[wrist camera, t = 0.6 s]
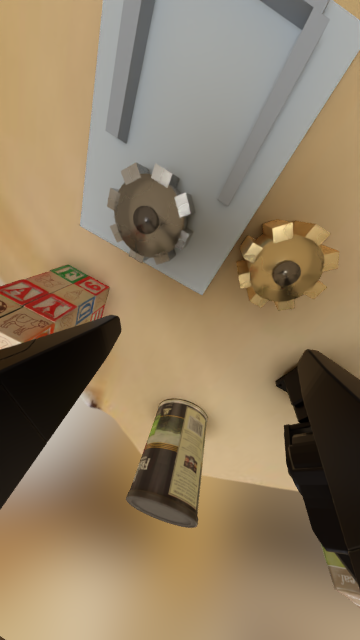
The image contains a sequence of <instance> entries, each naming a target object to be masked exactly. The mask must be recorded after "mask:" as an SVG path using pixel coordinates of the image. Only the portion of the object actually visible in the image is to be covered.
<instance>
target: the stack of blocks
mask: <svg viewBox="0 0 360 640" xmlns="http://www.w3.org/2000/svg"><path fill="white" fill-rule="evenodd" d="M108 292H109V287H108V286H106V285H104V284H103V283H101V282H99V281H97V280H95V279H94V278H92V277H90V276H88V275H86V274H84V273H82V272H80V271H79V270H77V269H75V268H73V267H72V266H70V265H66V266H62V267H59V268H56V269H53V270H50V271H49V272H45V273H42V274H39V275H36V276H33V277H30V278H27V279H22V280H19V281H15V282H12V283H10V284H6V285H3V286H0V349H3V348H7V347H10V346H14V345H17V344H20V343H24V342H27V341H30V340H33V339H37V338H40V337H43V336H46V335H49V334H52V333H55V332H59V331H62V330H65V329H68V328H71V327H74V326H77V325H81V324H84V323H87V322H90V321H93V320H96V319H100V318H102V314H103V310H104V306H105V303H106V299H107V296H108Z"/></svg>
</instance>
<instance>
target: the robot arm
mask: <svg viewBox="0 0 360 640" xmlns="http://www.w3.org/2000/svg"><path fill="white" fill-rule="evenodd" d="M120 333H121V324H120V319H119V317H118V316H115V315H109V316H106V317H103V318H100V319H96V320H93V321H90V322H87V323H84V324H81V325H77V326H74V327H71V328H68V329H65V330H62V331H59V332H55V333H52V334H49V335H46V336H43V337H40V338H37V339H33V340H30V341H27V342H24V343H20V344H17V345H14V346H10V347H7V348H3V349H0V509H1V508H2V506H3V505H4V503H5V502H6V501H7V499H8V498H9V496H10V495H11V493H12V492H13V491H14V489H15V488H16V486H17V485H18V484H19V482H20V481H21V479H22V478H23V476H24V475H25V473H26V472H27V471H28V469H29V468H30V466H31V465H32V463H33V462H34V461H35V459H36V458H37V456H38V455H39V454H40V452H41V451H42V449H43V448H44V447H45V445H46V444H47V442H48V441H49V439H50V438H51V436H52V435H53V434H54V432H55V431H56V429H57V428H58V426H59V425H60V424H61V422H62V421H63V419H64V418H65V416H66V415H67V414H68V412H69V411H70V409H71V408H72V406H73V405H74V404H75V402H76V401H77V399H78V398H79V397H80V395H81V394H82V392H83V391H84V389H85V388H86V387H87V385H88V384H89V382H90V381H91V379H92V378H93V377H94V375H95V374H96V372H97V371H98V369H99V368H100V367H101V365H102V364H103V362H104V361H105V359H106V358H107V356H108V355H109V353H110V351H111V350H112V348H113V346H114V344H115V342H116V341H117V339H118V337H119V335H120ZM276 386H277V387H279V388H280V389H282V390H284V391H286V392H288V395H289V398H290V401H291V404H292V405H293V407H294V410H295V413H296V416H297V419H298V422H299V423H298V424H293V425H289V424H288V425H284V438H285V451H286V464H287V467H288V473H289V475H290V476H291V477H292V479H293V481H294V483H295V485H296V487H297V489H298V491H299V492H300V493H301V495H302V496H303V499H304V502H305V506H306V509H307V513H308V516H309V520H310V524H311V526H312V530H313V532H314V533H315V535H316V536H317V538H318V539H319V541H320V542H321V544H322V546H323V547H324V549H325V550H326V551H328V552H334V553H335V554H336V556H337V557H338V558H339V560H340V561H341V562H342V564H343V565H344V566H345V568H346V569H347V570H348V572H349V573H350V574H351V576H352V577H353V578H354V580H355V581H356V582H357V584H358V586H359V590H360V380H359V379H358V378H356V377H355V376H353V375H352V374H351V373H349V372H348V371H346V370H345V369H343V368H342V367H340V366H339V365H338V364H336V363H335V362H333V361H332V360H330V359H329V358H327V357H326V356H325V355H323V354H322V353H320V352H319V351H316V350H310V349H307V350H305V351H304V353H303V355H302V357H301V359H300V360H299V362H298V367H297V368H296V369H294V370H293V371H291V372H290V373H288V374H287V375H285V376H284V377H282V378H281V379H279V380H278V381H276ZM0 640H5V639H4V638H2V637H1V636H0Z"/></svg>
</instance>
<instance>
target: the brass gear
mask: <svg viewBox="0 0 360 640" xmlns="http://www.w3.org/2000/svg"><path fill="white" fill-rule="evenodd" d="M262 226H263V235H261V236H260V237H258V238H257V239H256V240H255V239H253V238H252V237H250V236H247V237H246V239H245V240H244V242H243V243H242V245H241V246H240V249H241V253H242V256H243V258H245V260H241V261H237V262H236V263H237V269H238V276H239V282H240V288H241V289H242V288H247V292H248V297H249V301H250V302H252V303H253V304H255V305H257V306H259V307H260V308H262V307H263V306H264V305H265V303H266V302H267V301H268V300H269V301H274V303H275V305H276V307H277V309H278V311H280V310H287V309H293V308H295V306H294V299H295V298H298V297H300V296H302V295H304V294H305V295H307V296H309V297H310V298H312V299H314V298H316V297H317V296H318V295H319V294H320V293H321V292H322V291H323V290H325V289H326V288H327V287H326V286H325V285H324V284H323V283H321V282H320V281H319V279H320V277H321V275H322V272H323V271H328V270H333V269H338V260H339V251H337V250H334V249H332V248H329V247H326V246H324V245H321V244H322V243H323V242H324V240H325V239H326V238H327V237H328V236H329V235H330V234H331V233H329V232H327V231H326V230H324V229H323V228H321V227H319V226H318V225H316V224H312V223H306V222H300V221H294V222H289V221H284V220H279V219H276V220H273V221H270V222H267V223H264V224H262Z"/></svg>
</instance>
